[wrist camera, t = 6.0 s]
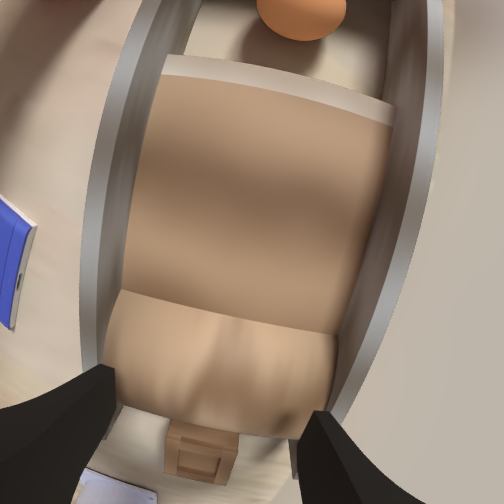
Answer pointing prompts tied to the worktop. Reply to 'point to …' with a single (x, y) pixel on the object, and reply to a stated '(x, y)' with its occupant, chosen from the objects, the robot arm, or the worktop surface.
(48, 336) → the worktop surface
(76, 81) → the worktop surface
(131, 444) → the worktop surface
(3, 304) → the hard drive
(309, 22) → the ball
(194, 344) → the lane
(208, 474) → the brown wooden crate
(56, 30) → the worktop surface
